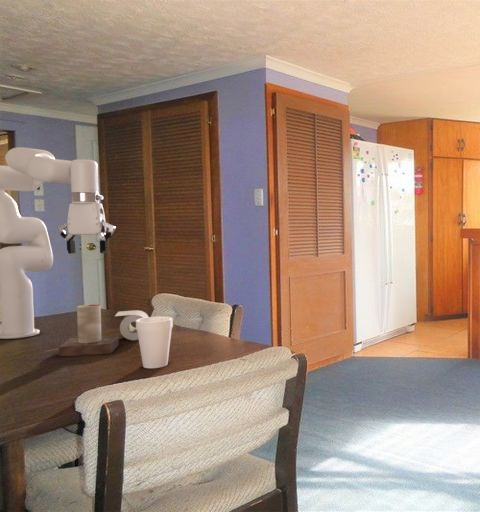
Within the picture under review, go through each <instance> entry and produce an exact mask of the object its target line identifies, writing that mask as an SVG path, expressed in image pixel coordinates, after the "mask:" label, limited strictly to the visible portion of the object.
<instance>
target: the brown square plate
mask: <svg viewBox="0 0 480 512" xmlns="http://www.w3.org/2000/svg"><path fill="white" fill-rule="evenodd" d="M101 339H102V340H101V341H98V342H93V343H79V342H78V337H70V338H69V339H67V340H66V341H64V342H63V343H62V344H60V345H59V346H58V357H75V356H91V355H108V354H112V353H113V351H115V349H116V348H117V347H118V346H119V344H120V343H119V342H120V339H119V335H110V336H101Z"/></svg>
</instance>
